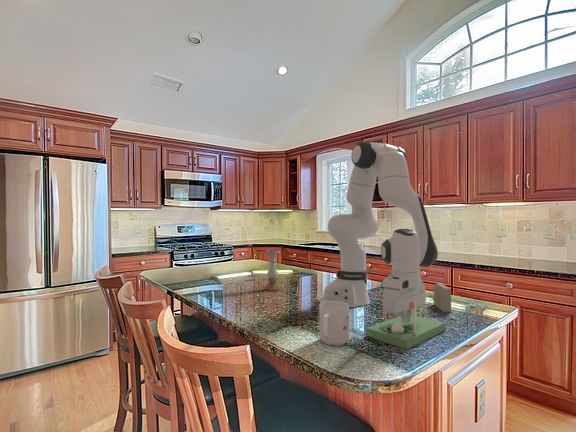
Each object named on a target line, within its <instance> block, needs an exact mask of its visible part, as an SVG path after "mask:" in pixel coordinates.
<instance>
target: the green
mask: <svg viewBox="0 0 576 432" xmlns="http://www.w3.org/2000/svg"><path fill="white" fill-rule="evenodd" d="M410 309H413V312H412V315H411V321H410V322H408V323H402V322H401V316H400V315H399V316H395V317H393V318H390V319H387V320H386V321H382V322H380V323H379V322H378V323H377V324H374V325H371V326H368V327H366V337H368V336H369V338H371V337H372V339H375V340H379V341H380V342H384V343H387V344H390V345H393V346H396V347H399V348H403V349H405V350H410V349H411V348H413V347H415V346H417V345H419V344H421V343H423V342H425V341H427V340H429V339H431V338H433V337H435V336H437V335H439V334H441V333H442V332H445V331H446V322H443V321H439V320H435V319H430V318H427V317H423V316H418V315H417V307H416V301H413V302H410V303H409V310H410ZM394 324H400V325H402V326H403V328H404V333H395V332H391V327H392V326H393V325H394Z"/></svg>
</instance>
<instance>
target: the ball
mask: <svg viewBox="0 0 576 432" xmlns="http://www.w3.org/2000/svg"><path fill="white" fill-rule="evenodd" d="M391 332H395V333H404V328H403V326H402V325H400V324H394V325H393V326H392V327H391Z"/></svg>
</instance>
